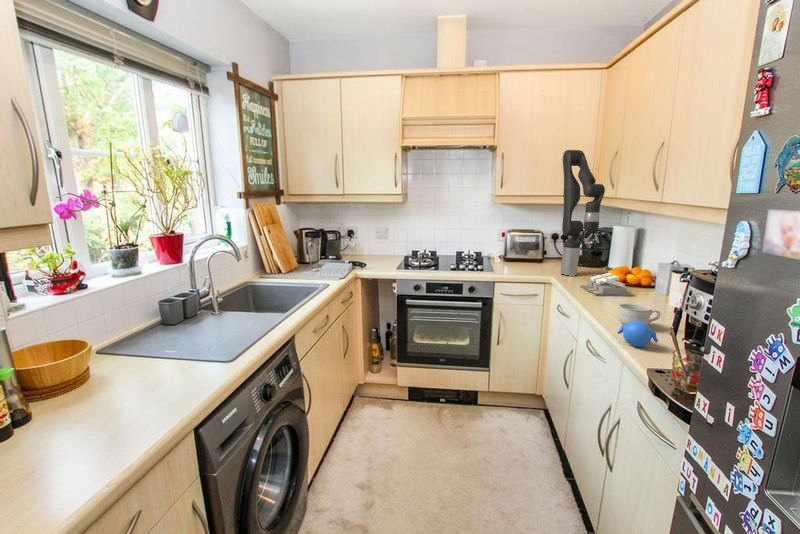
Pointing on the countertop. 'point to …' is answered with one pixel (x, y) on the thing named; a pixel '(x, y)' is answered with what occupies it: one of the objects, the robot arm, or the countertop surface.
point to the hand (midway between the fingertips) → (589, 250)
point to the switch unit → (605, 289)
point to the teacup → (636, 313)
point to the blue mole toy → (637, 333)
